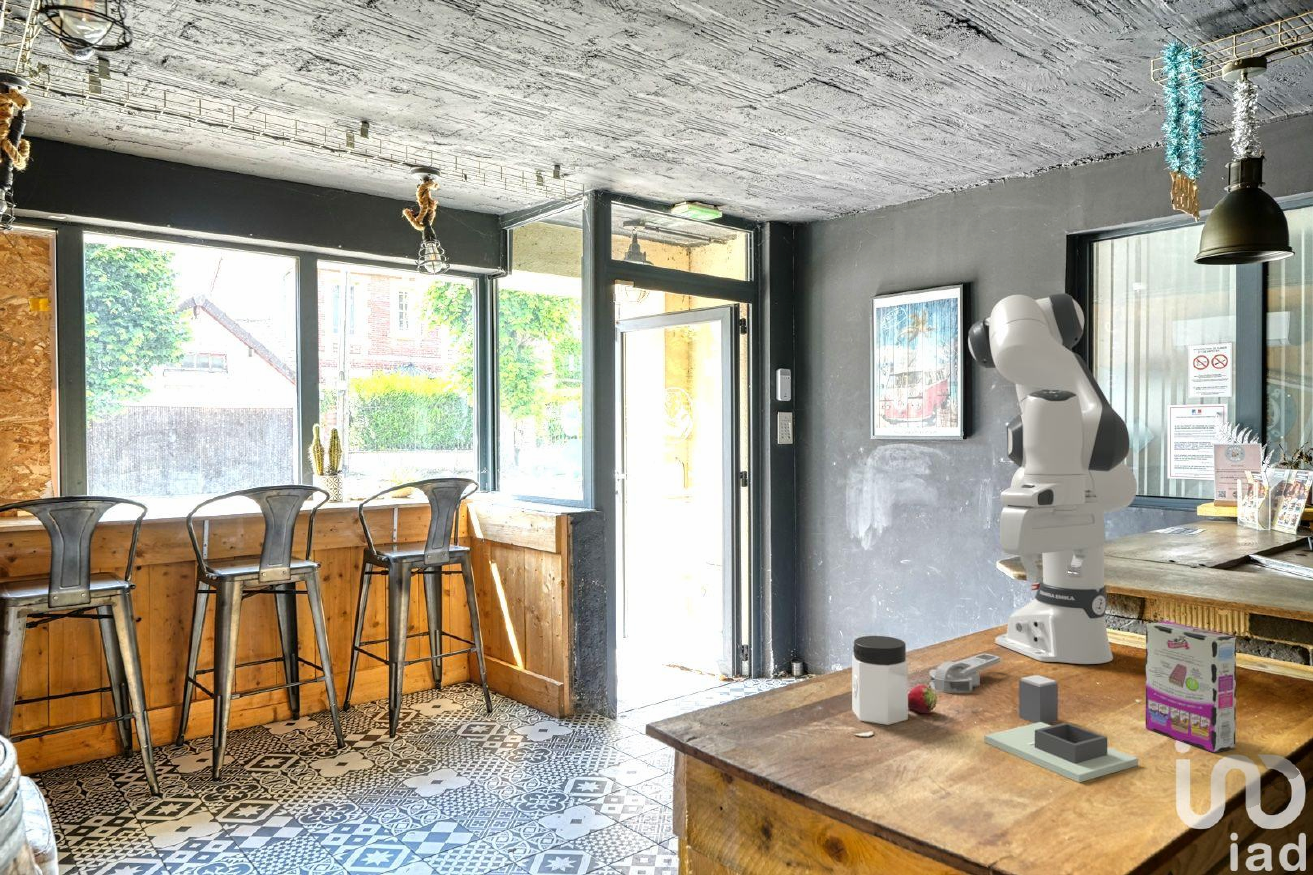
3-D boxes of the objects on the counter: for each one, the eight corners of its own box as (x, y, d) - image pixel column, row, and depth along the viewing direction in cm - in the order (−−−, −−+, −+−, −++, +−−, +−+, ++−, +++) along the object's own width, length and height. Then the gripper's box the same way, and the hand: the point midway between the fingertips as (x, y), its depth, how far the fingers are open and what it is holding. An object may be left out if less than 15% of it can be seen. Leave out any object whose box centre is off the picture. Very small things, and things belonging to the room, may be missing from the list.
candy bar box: (1237, 748, 126) (1238, 635, 126) (1214, 754, 124) (1215, 639, 124) (1165, 723, 137) (1166, 619, 136) (1143, 728, 135) (1144, 622, 134)
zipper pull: (1012, 676, 162) (1012, 653, 162) (958, 696, 150) (958, 672, 150) (972, 666, 168) (972, 644, 168) (918, 686, 157) (918, 662, 156)
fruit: (913, 704, 147) (913, 675, 146) (943, 714, 142) (943, 683, 142) (896, 710, 144) (896, 679, 144) (927, 720, 139) (927, 689, 139)
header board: (984, 741, 130) (984, 718, 130) (1040, 728, 135) (1040, 705, 135) (1078, 782, 115) (1079, 756, 115) (1138, 765, 121) (1138, 740, 121)
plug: (1019, 717, 140) (1019, 677, 140) (1036, 713, 142) (1036, 674, 142) (1039, 725, 136) (1040, 684, 136) (1057, 721, 138) (1057, 680, 138)
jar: (847, 706, 146) (847, 635, 145) (895, 705, 146) (895, 634, 146) (861, 726, 137) (861, 649, 136) (913, 724, 137) (913, 648, 137)
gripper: (1080, 488, 146) (1082, 571, 146) (992, 493, 137) (993, 582, 137) (1115, 490, 141) (1116, 576, 141) (1025, 496, 131) (1027, 588, 131)
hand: (1055, 579), depth 139 cm, fingers open, 8 cm apart
